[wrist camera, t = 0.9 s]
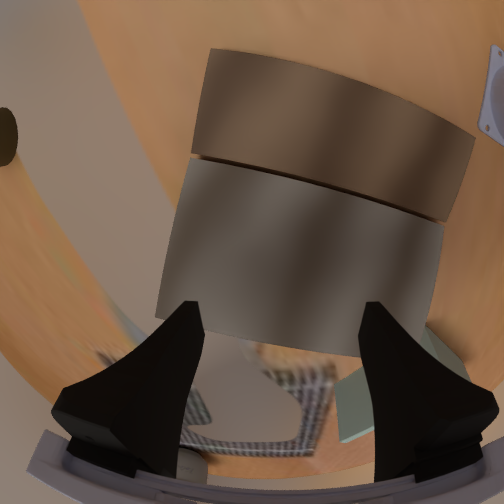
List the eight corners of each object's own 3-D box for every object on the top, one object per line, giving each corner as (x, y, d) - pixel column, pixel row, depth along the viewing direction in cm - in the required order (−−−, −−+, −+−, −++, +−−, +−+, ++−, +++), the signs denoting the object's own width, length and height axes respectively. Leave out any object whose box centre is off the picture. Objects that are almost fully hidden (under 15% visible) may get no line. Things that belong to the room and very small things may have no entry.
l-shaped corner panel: (333, 383, 29) (339, 441, 22) (421, 320, 24) (447, 380, 17) (389, 408, 32) (397, 454, 25) (461, 359, 27) (481, 406, 20)
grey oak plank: (432, 227, 19) (444, 226, 17) (404, 356, 19) (413, 362, 17) (194, 164, 18) (190, 157, 17) (161, 312, 18) (154, 317, 17)
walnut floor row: (464, 134, 15) (475, 137, 14) (436, 214, 18) (445, 222, 17) (215, 52, 15) (210, 48, 13) (197, 149, 18) (191, 153, 17)
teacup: (199, 444, 41) (190, 482, 34) (220, 463, 46) (214, 496, 39) (135, 436, 44) (124, 469, 37) (161, 457, 49) (153, 486, 42)
